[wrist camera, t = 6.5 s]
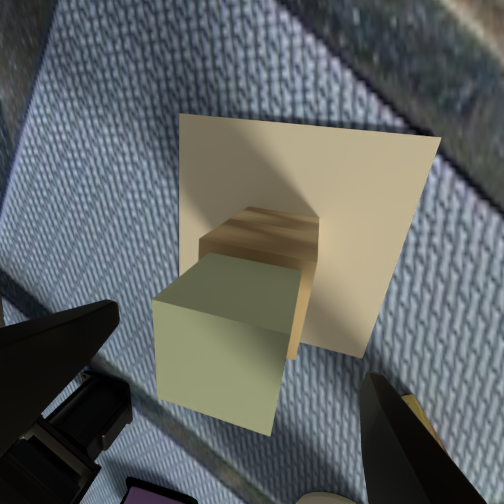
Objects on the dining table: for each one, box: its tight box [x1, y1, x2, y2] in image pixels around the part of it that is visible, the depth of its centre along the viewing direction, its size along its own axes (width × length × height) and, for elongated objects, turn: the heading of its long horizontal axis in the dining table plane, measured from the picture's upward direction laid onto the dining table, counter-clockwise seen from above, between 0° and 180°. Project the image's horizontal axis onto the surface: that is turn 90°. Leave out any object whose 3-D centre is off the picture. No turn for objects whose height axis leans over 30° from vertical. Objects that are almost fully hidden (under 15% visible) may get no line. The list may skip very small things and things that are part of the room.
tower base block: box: [230, 206, 319, 234], centre depth 17 cm, size 5×5×4 cm
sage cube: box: [152, 252, 302, 436], centre depth 9 cm, size 4×4×4 cm
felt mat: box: [179, 113, 441, 358], centre depth 19 cm, size 16×16×1 cm
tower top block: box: [198, 219, 319, 360], centre depth 13 cm, size 5×5×4 cm
